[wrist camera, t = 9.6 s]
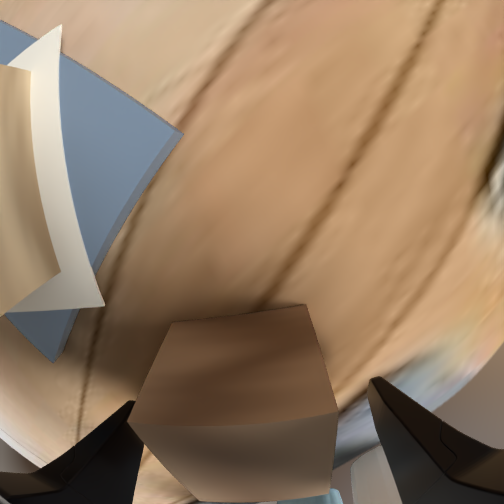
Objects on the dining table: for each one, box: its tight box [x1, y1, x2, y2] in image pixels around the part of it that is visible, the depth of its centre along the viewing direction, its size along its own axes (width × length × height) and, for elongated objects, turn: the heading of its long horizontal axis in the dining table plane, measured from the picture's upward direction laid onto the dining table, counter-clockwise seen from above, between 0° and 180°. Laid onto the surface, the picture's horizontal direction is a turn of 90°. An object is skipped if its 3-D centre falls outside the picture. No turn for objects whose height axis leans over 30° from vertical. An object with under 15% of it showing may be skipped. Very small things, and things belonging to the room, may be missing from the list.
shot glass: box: [350, 445, 402, 504], centre depth 10 cm, size 7×7×7 cm
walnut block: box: [127, 304, 339, 503], centre depth 8 cm, size 5×6×5 cm
